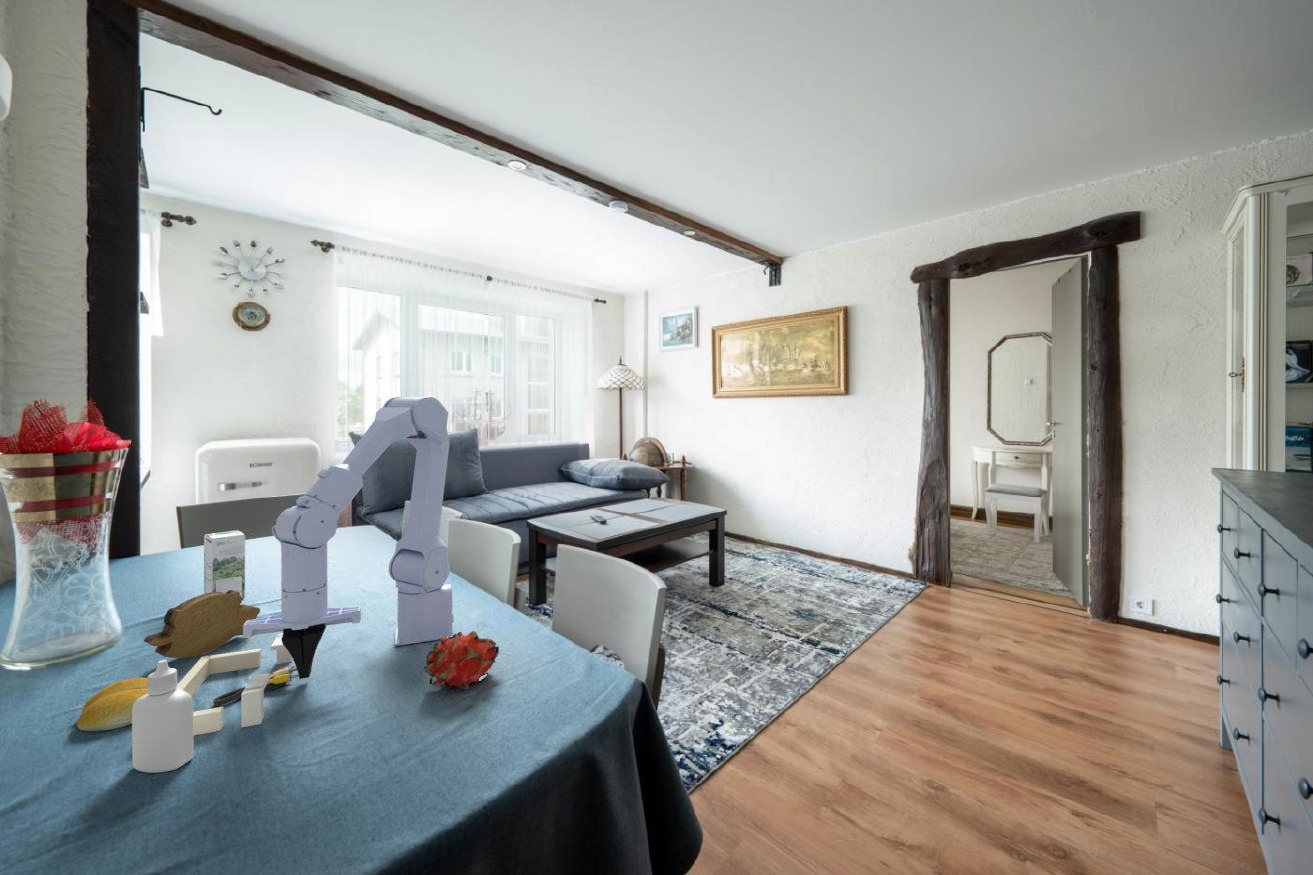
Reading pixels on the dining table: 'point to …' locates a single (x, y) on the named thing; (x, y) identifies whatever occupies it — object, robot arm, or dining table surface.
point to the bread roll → (112, 705)
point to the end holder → (211, 665)
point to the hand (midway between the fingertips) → (305, 675)
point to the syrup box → (224, 562)
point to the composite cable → (275, 681)
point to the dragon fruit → (460, 660)
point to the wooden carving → (202, 624)
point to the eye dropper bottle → (162, 724)
